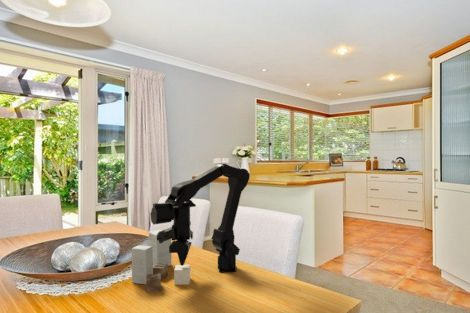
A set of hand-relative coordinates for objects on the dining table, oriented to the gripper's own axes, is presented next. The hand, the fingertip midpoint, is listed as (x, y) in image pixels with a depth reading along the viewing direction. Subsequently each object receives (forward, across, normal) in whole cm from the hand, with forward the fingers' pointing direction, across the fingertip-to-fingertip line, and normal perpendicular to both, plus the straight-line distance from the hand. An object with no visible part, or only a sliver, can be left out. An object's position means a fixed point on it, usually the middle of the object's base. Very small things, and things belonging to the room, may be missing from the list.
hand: (182, 265), depth 105 cm
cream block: (+6, 0, 0) cm, 6 cm away
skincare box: (+6, -1, -14) cm, 15 cm away
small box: (+6, -17, -11) cm, 21 cm away
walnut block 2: (+6, +5, -9) cm, 12 cm away
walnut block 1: (+6, -5, -9) cm, 12 cm away
